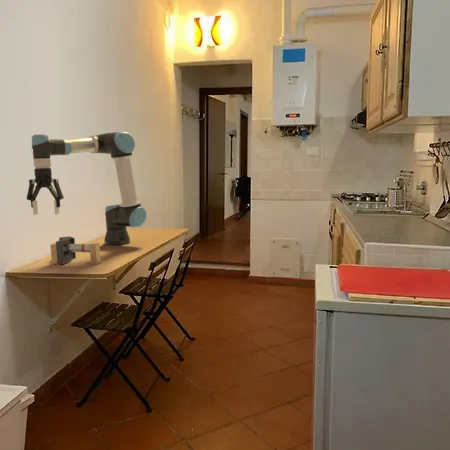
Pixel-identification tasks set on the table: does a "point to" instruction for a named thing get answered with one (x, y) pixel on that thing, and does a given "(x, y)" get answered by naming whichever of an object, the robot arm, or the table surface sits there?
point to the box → (72, 241)
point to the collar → (62, 251)
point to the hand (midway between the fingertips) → (46, 214)
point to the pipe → (91, 248)
